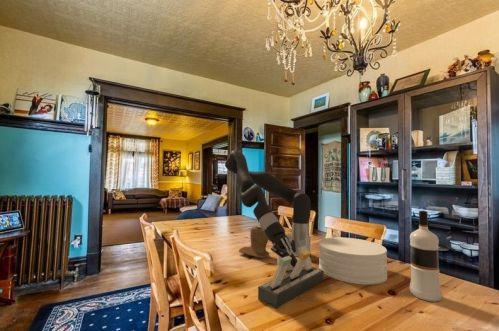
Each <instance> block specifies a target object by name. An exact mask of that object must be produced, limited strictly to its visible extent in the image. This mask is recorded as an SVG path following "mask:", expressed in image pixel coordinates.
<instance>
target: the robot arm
mask: <svg viewBox="0 0 499 331" xmlns="http://www.w3.org/2000/svg"><path fill="white" fill-rule="evenodd" d="M224 167H225V168H226V170H228V171H230V172H232V173H233V174H235V175H236V180H237V183H238V186H239V191H240V193H239V195H240V196H239V198H240V202H241V204H242V205H243V206H244V207H246V208H252V207H254V205H255V207H254V208H253V210H252V212H253V215H254V217H255V218H256V219H257V220H256V221H257V222H258V224H259V225H260V226H259V227H261V228H262V229H263V231H264V233H265V234H266V236H267V238H268V239H269V240H268V242H271V244H272V245H271V247H270V251H272V252H274V253H275V254H276V256H277V255H279V256H280V257H282V258H284V257H286V256H290V257H291V258H292V260H291V262H290V264H291V265H292V266H293V267H295V265H296V263H297V261H298V259H297V258H299V257H300V253H299V250H298V248H297V245H296V242H297V241H301V240H304V242H305V246H306V248H307V250H309V251H310V252H311V236H310V219H311V209H312V207H311V206H312V205H311V198H310V196H309V195H307V194H306V193H304V192H301V191H297V190H295V189H293V188H291V187H290V186H288V185H287V184H286V183H284V182H283V181H281V179H279V178H277V177H276V176H274V175H273V174H272V173H269V172H268V171H265V170H262V171H261V170H259V171H257V170H256V171H254V170H253V171H252V170H249V167H248V162H247V159H246V156H245V154H243V153H242V152H241V151H239V150H235V149H233V150H231V152H230V153H229V154H228V157H227V159H226V161H225V163H224ZM263 190H265V191H266V192H267V193H270V194H271V195H273V196H277V197H279V198H281V199H283V200H284V201H286V202H287V203H288V204H290V205H291V206H292V208H293V209H292V210H293V211H292V217H291V235H292V241H291V240H289V238H288V237H287V236H286V235H285V234H286V229H285V228H284V227H283V225H282V224H281V222H280V220H279V219H278V217H277V216H276V215H275V214H274V213H273V211H272V209H271V208H270V207H269V205H268V203H267V200H266V196H265V192H264V191H263ZM294 253H295V256H294ZM296 257H297V258H296Z"/></svg>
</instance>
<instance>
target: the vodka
mask: <svg viewBox="0 0 499 331" xmlns="http://www.w3.org/2000/svg"><path fill="white" fill-rule="evenodd" d="M428 213H429V212H428V211H426V210H419V211H418V228H417V229H416V230H414V231H412V232H411V233H410V235H409V242H410V243H409V245H410V273H411V274H410V283H409V287H408V288H409V292H410V294H412V296H414V297H416V298H417V299H420V300H423V301H427V302H434V303H435V302H440V301H441V300H442V299H443V293H442V290H441V284H440V269H439V266H440V265H439V249H440V247H439V242H440V240H439V237H438V236H437V234H435V233H433V231H430V230H429V227H428V226H429V218H428V216H429V215H428Z"/></svg>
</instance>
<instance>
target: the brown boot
mask: <svg viewBox="0 0 499 331" xmlns="http://www.w3.org/2000/svg"><path fill="white" fill-rule="evenodd" d="M249 236H250V246H243V247H240V248H239V250H238V252H239V253H241V254H242V255H243V254H244V255H247V256H250V257H251V256H252V257H255V258H259V259H260V258H261V259H263V258H267V257H269V256H270V252H269V251H267V245H268V242H269V239H268V238H267V236H266V234H265V233H264V231H263V229H262V228H261V226H257V225H256V226H255V225H254V226H252V227H251V229H250V235H249Z"/></svg>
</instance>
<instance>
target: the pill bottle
mask: <svg viewBox="0 0 499 331" xmlns="http://www.w3.org/2000/svg"><path fill="white" fill-rule="evenodd" d="M285 235H286V236H287V237H288V238H289V240H291V241H292V233H285ZM276 256H277V259H276V260H277V267H278V266H279V262H280V260H281V258H282V257H280V256H279V255H277V254H276ZM294 256H295V253H294ZM295 257H296V256H295ZM293 269H294V267H293V266H292V265H291V264H289V265H288V268H287V270H286V272H289V271H290V272H291V271H293Z"/></svg>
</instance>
